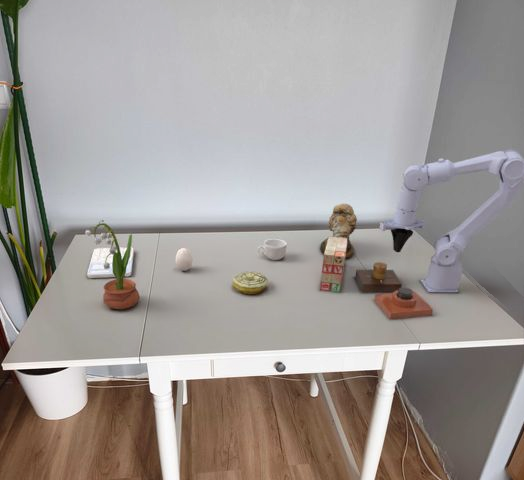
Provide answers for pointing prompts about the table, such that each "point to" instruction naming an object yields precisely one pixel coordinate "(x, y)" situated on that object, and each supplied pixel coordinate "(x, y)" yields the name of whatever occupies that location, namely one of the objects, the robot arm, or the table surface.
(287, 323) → the table surface
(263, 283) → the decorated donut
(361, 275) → the dial panel
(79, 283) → the table surface
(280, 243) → the teacup
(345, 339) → the table surface
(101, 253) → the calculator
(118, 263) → the potted flower
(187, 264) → the egg
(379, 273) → the dial
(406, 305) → the button base
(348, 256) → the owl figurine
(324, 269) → the stack of blocks
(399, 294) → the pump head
